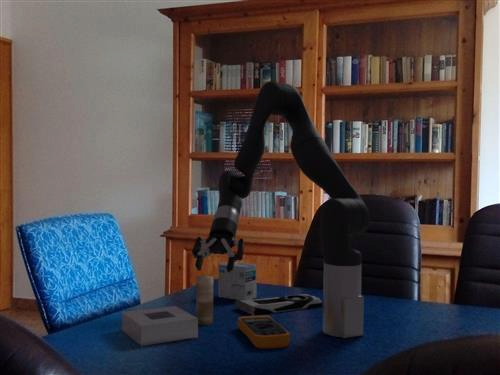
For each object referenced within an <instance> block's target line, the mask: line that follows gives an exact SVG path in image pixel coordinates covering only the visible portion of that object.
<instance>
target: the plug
mask: <svg viewBox="0 0 500 375" xmlns="http://www.w3.org/2000/svg"><path fill="white" fill-rule="evenodd" d="M195 283H196V284H195V286H196V287H195V288H196V290H195V292H196V294H195V298H196V299H195V302H196V303H195V308H196V309H195V317H196V318H198V326H201V325H202V326H208V325H212V324H213V323H214V276H213V275H207V274H206V275H197V276H196V281H195Z"/></svg>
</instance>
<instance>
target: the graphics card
mask: <svg viewBox="0 0 500 375" xmlns="http://www.w3.org/2000/svg"><path fill="white" fill-rule="evenodd" d="M234 303H235V310H239V309H240V310H239V311H241V310H242V311H241V312H243V311H244V313H246V312H247V313H246V314H247V315H249V316H255V315H256V316H259V315H263V314H264V315H272V314H271V313H273V314H279V313H280V312H281V313H288V312H294V311H302V310H303V311H304V310H309V309H316V308H317V309H319V308H323V300H322V299H320V297H317V296H315V295H310V294H307V293H304V294H303V293H301V294H289V295H285V296H278V297H277V296H276V297H266V298H259V299H258V298H257V299H256V298H255V299H254V298H253V299H248V300H235V301H234ZM281 313H280V314H281Z"/></svg>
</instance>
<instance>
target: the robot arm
mask: <svg viewBox="0 0 500 375" xmlns="http://www.w3.org/2000/svg"><path fill="white" fill-rule="evenodd" d="M271 115H273V116H280V117H283V118H284V119H285V120H286V121H287V123H288V125H289V127H290V129H291V131H292V133H291V134H292V135H291V139H290V140H291V141H290V152H291V154H292V156H293V158H294V161H295V162H296V164H297V166H298V168H299V169H300V171H301V172H302V174H304V175H305V176H306V178H308V179H309V180H310V181H311V182H313V183H314V184H315V185H316V186H318V187H319V188H320V189H321V190H323V191H324V192H325V194H327V196H328V197H329V198H330V199H328V200H326V201H325V202H324V204H323V205H322V207H321V211H320V218H319V219H320V220H319V221H320V223H319V224H320V248H321V253H322V255H323V294H322V296H323V298H322V304H323V307H322V332H323V334H326V335H328V336H331V337H336V338H337V337H338V338H342V339H349V338H356V337H360V336H363V335H364V310H365V309H364V308H365V306H364V303H365V300H364V299H365V297H364V296H363V295H362V262H363V256H362V253H361V252H360V251H359V250H356V249H354V248H352V247H351V245H350V242H349V238H350V237H349V236H354V235H355V236H357V235H361V234H363V233H365V232H366V231H367V230H368V228H369V226H370V222H371V219H370V218H371V217H370V212H369V211H370V210H369V208H368V206H367V205H366V203H365V202H364V200H363V199H362V197H361V196H360V195H359V193H358V191H356V189H355V188H354V187H353V186H352V184H351V183H350V182H349V180H348V178H347V177H346V175H345V174H344V172H343V170H342V169H341V168H340V166H339V164H338V163H337V161H336V159H335V158H334V155H333V154H332V152H331V151H330V148H329V146H328V145H327V143H326V142H325V139H323V137H322V136H321V134H320V132H319V130H318V129H317V127H316V125H315V123H314V121H313V120H312V117H311V116H310V114H309V112H308V109H307V107H306V105H305V102H304V99H303V97H302V96H301V94H300V92H299V90H298V89H297V88H296V87H295V86H293V85H291V84H288V83H284V82H278V81H270V80H269V81H267V82H265V83H264V84H263V85H262V86H261V88H260V89H259V91H258V94H257V97H256V101H255V103H254V107H253V111H252V113H251V117H250V121H249V124H248V128H247V131H246V134H245V136H244V139H243V142H242V144H241V146H240V148H239V151H238V152H237V154H236V156H235V159H234V162H233V166H234V167H235V169H236V170H237V171H239V172H240V173H242V174H243V175H242V174H240V173H237V172H235V171H232V170H225V171H224V172H222V173H221V174H220V176H219V179H218V185H217V186H218V197H219V198H218V199H219V200H218V204H217V208H216V211H215V212H214V216H213V219H212V222H211V226H210V230H209V233H208V237H207V238H201V236H197V237H196V240H195V243H194V245H193V246H192V250H191V253H192V255H193V256H192V257H193V258H194V259H196V261H195V263H194V264H195V267H196V269H197V271H199V272H200V271H202V267H203V263H204V260H205V259H206V258H207V257H210V256H211V255H225V254H226V255H227V257H228V260H227V262H228V263H227V272H231V271H232V270H233V267H234V263H235V262H237V261H242V260H243V258H244V251H245V242H244V239H243V238H239V239H238V240H237V239H235V238H236V236H237V230H238V227H239V224H240V223H239V222H240V214H241V211H242V206H243V201H242V199H246V198H247V197H248V196H249V195H250V194H251V192H252V188H253V180H254V176H255V172H256V170H257V167H258V166H259V164H260V162H261V160H262V158H263V156H264V152H265V149H266V146H265V145H266V143H265V142H266V141H265V140H266V139H265V126H266V123H267V121H268V119H269V117H270V116H271ZM235 246H236V249H237V251H236V253H234V251H233V250H232V249H233V247H235Z"/></svg>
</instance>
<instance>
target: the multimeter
mask: <svg viewBox="0 0 500 375" xmlns="http://www.w3.org/2000/svg"><path fill="white" fill-rule="evenodd" d="M237 328H238V329H239V330H240V331H241V332H242V333H243V334H244V335H245V336H246V338H248V339H249V340H250V342H251V344H253V346H254V347H256V348H258V349H261V350H262V349H279V348H281V349H282V348H286V347H288V346H289V345H290V342H291V333H290V332H289V331H288V330H287V329H285V328H284V327H283V326H282V325H281V324H279V323H278V322H276V321H275V320H274V319H273V318H272V317H271V316H270V315H269V314H264V315H256V316H252V315H245V316H240V317H238V318H237Z"/></svg>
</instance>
